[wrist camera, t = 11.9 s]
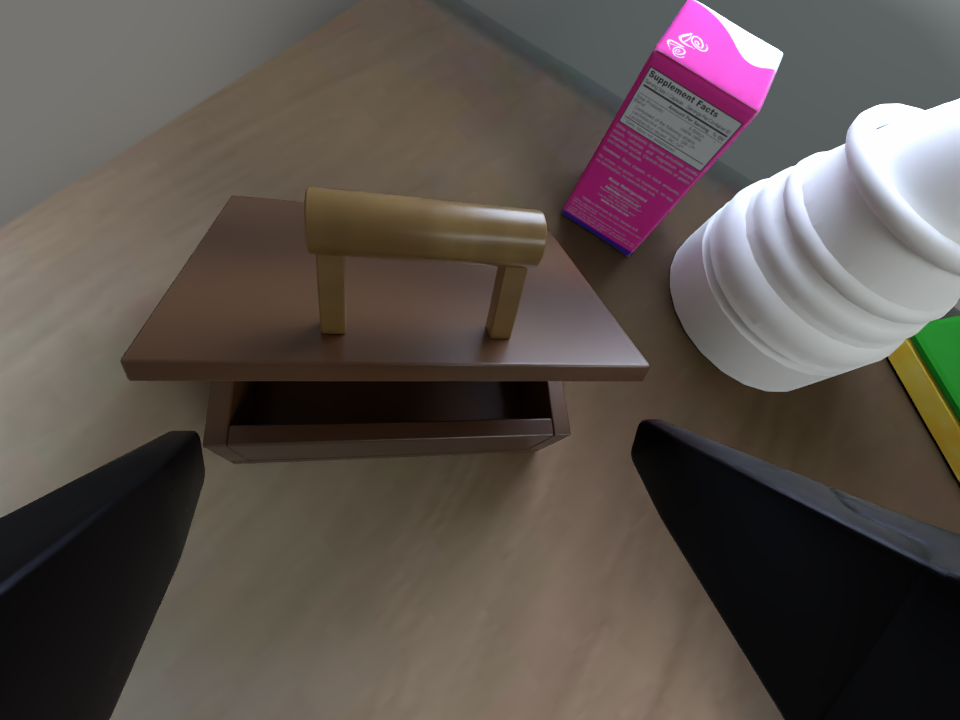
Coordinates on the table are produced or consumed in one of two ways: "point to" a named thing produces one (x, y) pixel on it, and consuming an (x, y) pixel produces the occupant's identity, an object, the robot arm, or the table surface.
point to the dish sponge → (935, 381)
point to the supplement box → (672, 125)
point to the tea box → (380, 419)
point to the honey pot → (829, 254)
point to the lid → (380, 298)
